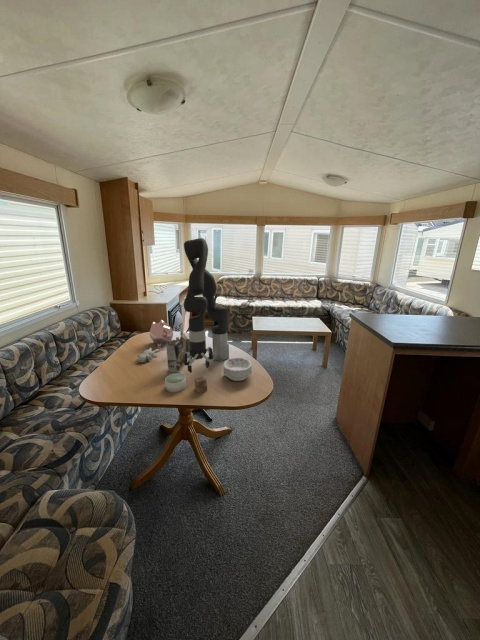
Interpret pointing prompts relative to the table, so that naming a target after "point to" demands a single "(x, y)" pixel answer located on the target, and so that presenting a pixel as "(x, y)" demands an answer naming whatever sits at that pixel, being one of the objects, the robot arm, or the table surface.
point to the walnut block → (200, 384)
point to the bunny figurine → (146, 355)
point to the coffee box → (175, 355)
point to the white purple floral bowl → (237, 368)
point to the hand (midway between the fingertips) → (198, 369)
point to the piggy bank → (161, 333)
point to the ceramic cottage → (184, 342)
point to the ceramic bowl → (175, 382)
